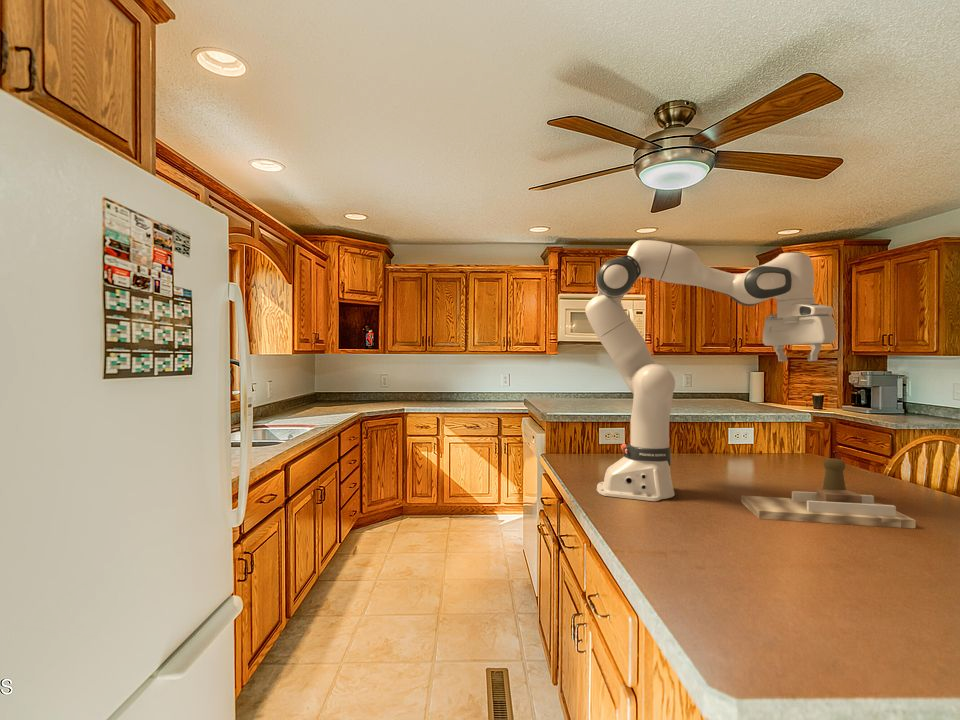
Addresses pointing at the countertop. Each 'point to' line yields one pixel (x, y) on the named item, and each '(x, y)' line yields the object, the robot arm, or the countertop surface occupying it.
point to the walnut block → (838, 496)
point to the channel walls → (844, 505)
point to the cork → (834, 474)
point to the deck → (817, 513)
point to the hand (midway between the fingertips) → (797, 361)
